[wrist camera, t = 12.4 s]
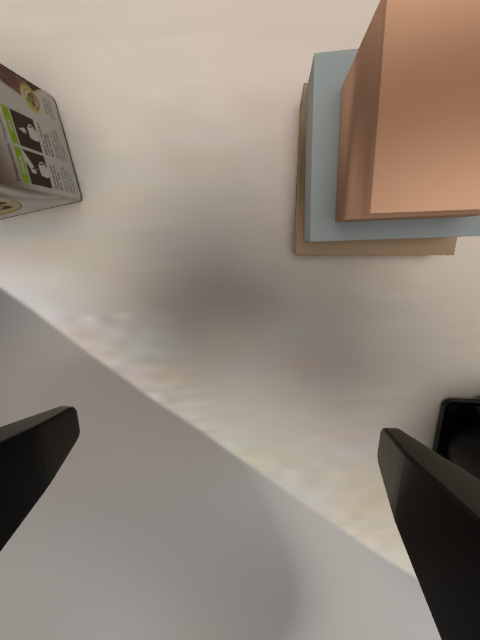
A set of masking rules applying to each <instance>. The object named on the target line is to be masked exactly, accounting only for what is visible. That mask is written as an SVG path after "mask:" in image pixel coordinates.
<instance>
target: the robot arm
mask: <svg viewBox="0 0 480 640" xmlns="http://www.w3.org/2000/svg"><path fill="white" fill-rule="evenodd" d="M452 405H454V407H453V408H452V409H449V407H450V406H452ZM79 434H80V428H79V422H78V416H77V411H76V409H75V408H74V407H70V406H60V407H57V408H54V409H51V410H48V411H45V412H42V413H39V414H37V415H34V416H31V417H28V418H25V419H22V420H19V421H17V422H14V423H11V424H8V425H5V426H2V427H0V551H1V550H2V549H3V547H4V546H5V544H6V543H7V542H8V540H9V539H10V538H11V536H12V535H13V533H14V532H15V531H16V530H17V528H18V527H19V526H20V524H21V523H22V521H23V520H24V519H25V517H26V516H27V515H28V513H29V512H30V511H31V509H32V508H33V507H34V505H35V504H36V502H37V501H38V500H39V498H40V497H41V495H42V494H43V493H44V492H45V490H46V488H47V487H48V486H49V485H50V483H51V481H52V480H53V478H54V477H55V475H56V473H57V472H58V470H59V469H60V467H61V465H62V464H63V462H64V461H65V459H66V457H67V456H68V454H69V452H70V451H71V449H72V447H73V446H74V444H75V443H76V441H77V439H78V437H79ZM378 463H379V467H380V470H381V474H382V477H383V481H384V485H385V488H386V492H387V495H388V499H389V503H390V506H391V510H392V513H393V516H394V519H395V522H396V525H397V528H398V530H399V533H400V535H401V538H402V540H403V543H404V545H405V548H406V551H407V553H408V556H409V558H410V561H411V563H412V566H413V568H414V571H415V573H416V576H417V578H418V581H419V583H420V586H421V589H422V591H423V594H424V596H425V598H426V601H427V604H428V606H429V609H430V611H431V613H432V616H433V619H434V621H435V624H436V626H437V629H438V632H439V634H440V636H441V639H442V640H480V400H464V399H447V400H445V401H444V402H443V403H442V406H441V412H440V417H439V422H438V427H437V432H436V437H435V442H434V447H433V450H431V449H430V448H428V447H426V446H425V445H423V444H422V443H420V442H419V441H417V440H415V439H414V438H412V437H411V436H409V435H407V434H406V433H404V432H403V431H401V430H400V429H397V428H383V429H382V430H381V433H380V439H379V447H378Z"/></svg>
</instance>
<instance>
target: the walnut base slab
mask: <svg viewBox="0 0 480 640" xmlns="http://www.w3.org/2000/svg"><path fill="white" fill-rule="evenodd" d="M307 86H308V83H304V86H303V92H302V98H301V103H300V119H299V142H298V165H297V188H296V211H295V234H294V253H295V254H306V255H454V251H455V245H456V239H457V237H432V238H403V239H374V240H345V241H316V242H306V241H304V206H305V152H306V97H307Z"/></svg>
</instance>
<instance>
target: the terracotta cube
mask: <svg viewBox="0 0 480 640" xmlns="http://www.w3.org/2000/svg"><path fill="white" fill-rule="evenodd" d="M479 215H480V0H381V1H380V3H379V5H378V7H377V9H376V12H375V14H374V16H373V18H372V21H371V23H370V25H369V27H368V29H367V32H366V34H365V36H364V38H363V41H362V43H361V45H360V47H359V49H358V52H357V54H356V56H355V58H354V61H353V63H352V65H351V67H350V70H349V72H348V74H347V76H346V78H345V81H344V83H343V85H342V89H341V110H340V130H339V151H338V171H337V191H336V212H335V222H352V221H379V220H406V219H433V218H460V217H469V216H479Z"/></svg>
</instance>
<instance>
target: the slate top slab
mask: <svg viewBox="0 0 480 640" xmlns="http://www.w3.org/2000/svg"><path fill="white" fill-rule="evenodd" d="M357 52H358V49H351V50H342V51H332V52H323V53H314V58H313V62H312V67H311V72H310V77H309V82H308V86H307V97H306V152H305V206H304V241H306V242H316V241H345V240H374V239H403V238H432V237H461V236H480V215H479V216H469V217H460V218H433V219H406V220H379V221H352V222H335V212H336V191H337V171H338V151H339V130H340V110H341V89H342V85H343V83H344V81H345V78H346V76H347V74H348V72H349V70H350V67H351V65H352V63H353V61H354V58H355V56H356V54H357Z"/></svg>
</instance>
